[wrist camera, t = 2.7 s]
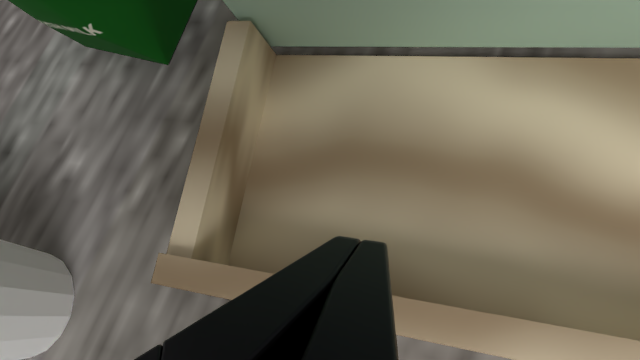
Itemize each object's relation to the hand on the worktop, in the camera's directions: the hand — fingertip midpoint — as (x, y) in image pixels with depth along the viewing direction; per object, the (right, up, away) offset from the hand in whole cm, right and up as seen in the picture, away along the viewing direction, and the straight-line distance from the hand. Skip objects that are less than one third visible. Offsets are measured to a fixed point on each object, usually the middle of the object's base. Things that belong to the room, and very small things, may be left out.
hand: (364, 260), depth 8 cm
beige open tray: (+5, +1, +13) cm, 14 cm away
